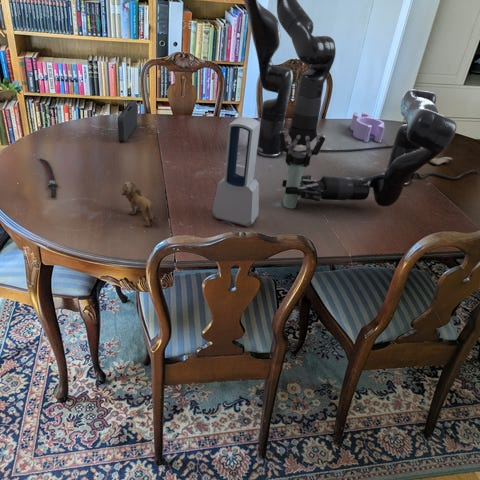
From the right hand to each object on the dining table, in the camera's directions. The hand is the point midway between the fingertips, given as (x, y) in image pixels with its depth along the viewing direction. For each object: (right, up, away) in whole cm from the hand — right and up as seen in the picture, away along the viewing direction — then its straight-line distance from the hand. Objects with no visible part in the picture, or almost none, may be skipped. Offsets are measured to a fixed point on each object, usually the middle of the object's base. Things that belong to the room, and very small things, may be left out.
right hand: (284, 186), depth 147 cm
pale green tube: (+2, -5, +4) cm, 7 cm away
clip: (+43, +32, +69) cm, 88 cm away
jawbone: (+66, +19, +53) cm, 87 cm away
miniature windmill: (+8, +36, +69) cm, 78 cm away
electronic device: (-16, -11, -7) cm, 20 cm away
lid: (+4, +9, -5) cm, 11 cm away
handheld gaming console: (-60, +27, +44) cm, 79 cm away
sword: (-77, +3, +4) cm, 77 cm away
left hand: (+3, +6, -4) cm, 8 cm away
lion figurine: (-43, -10, -11) cm, 46 cm away
